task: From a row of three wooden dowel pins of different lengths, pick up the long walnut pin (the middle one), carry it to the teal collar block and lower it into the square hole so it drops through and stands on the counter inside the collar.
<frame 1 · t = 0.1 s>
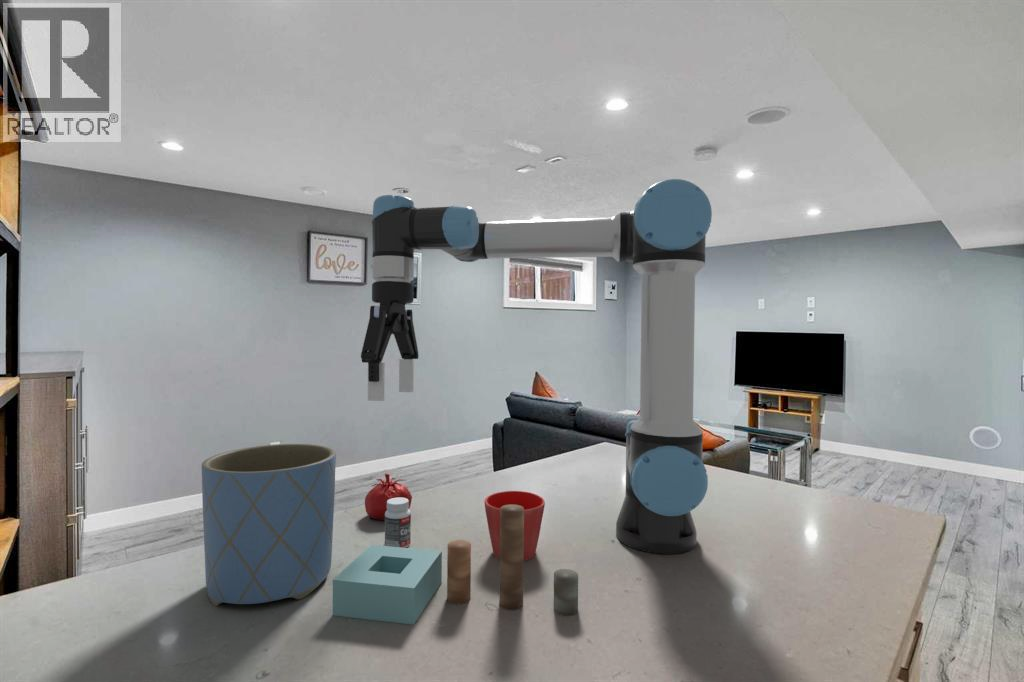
hand: (392, 396, 94), 28 cm above the worktop, fingers open, 13 cm apart
collar: (390, 597, 75), on the worktop
pill bottle: (397, 546, 94), on the worktop
pin short: (565, 609, 73), on the worktop
pomegranate: (388, 517, 109), on the worktop
pin medium: (458, 597, 75), on the worktop
pin long: (511, 603, 74), on the worktop
flower pot: (514, 554, 91), on the worktop
planter: (271, 583, 80), on the worktop
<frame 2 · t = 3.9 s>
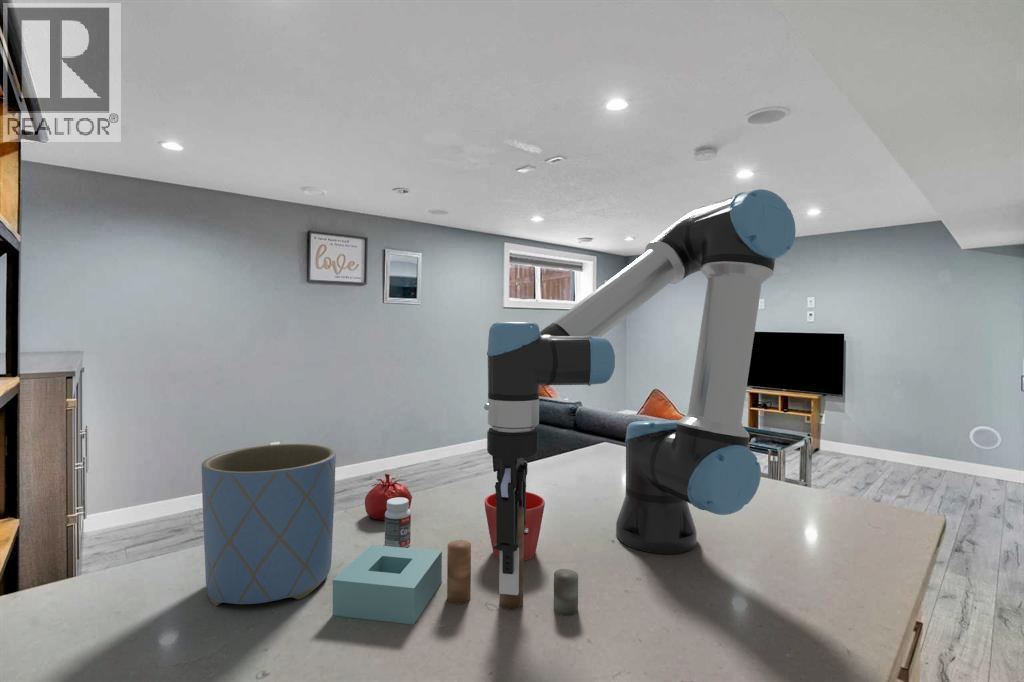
hand: (511, 585, 74), 3 cm above the worktop, fingers closed on pin long, 3 cm apart
pin long: (511, 603, 74), on the worktop, touching gripper
everything else where it was.
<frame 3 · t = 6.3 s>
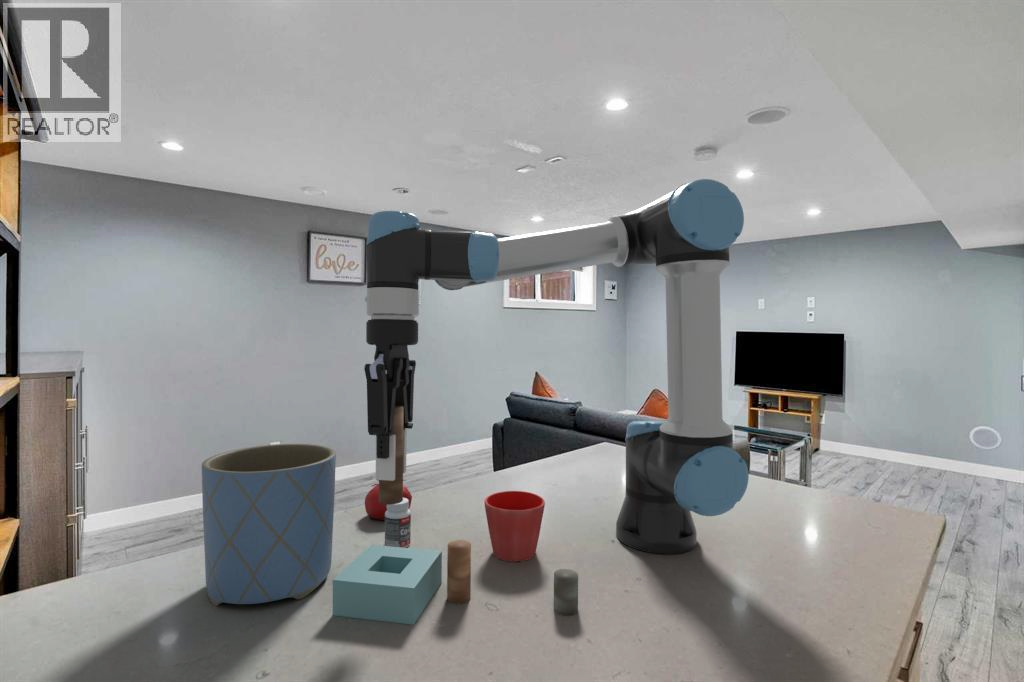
hand: (391, 475, 75), 18 cm above the worktop, fingers closed on pin long, 3 cm apart
pin long: (390, 500, 75), point 15 cm above the worktop, touching gripper
everything else where it was.
when the fingers open (6 cm above the worktop, at t = 8.7 s): pin long drops 2 cm, resting in collar.
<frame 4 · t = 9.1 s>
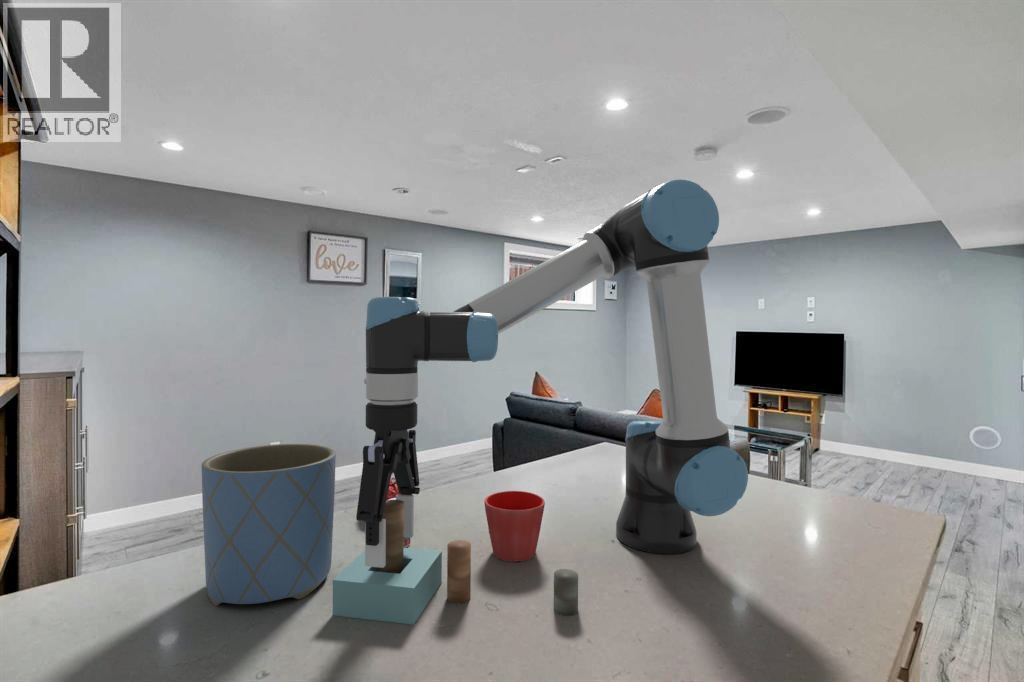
hand: (390, 549, 75), 7 cm above the worktop, fingers open, 10 cm apart
pin long: (390, 597, 75), resting in collar
everything else where it was.
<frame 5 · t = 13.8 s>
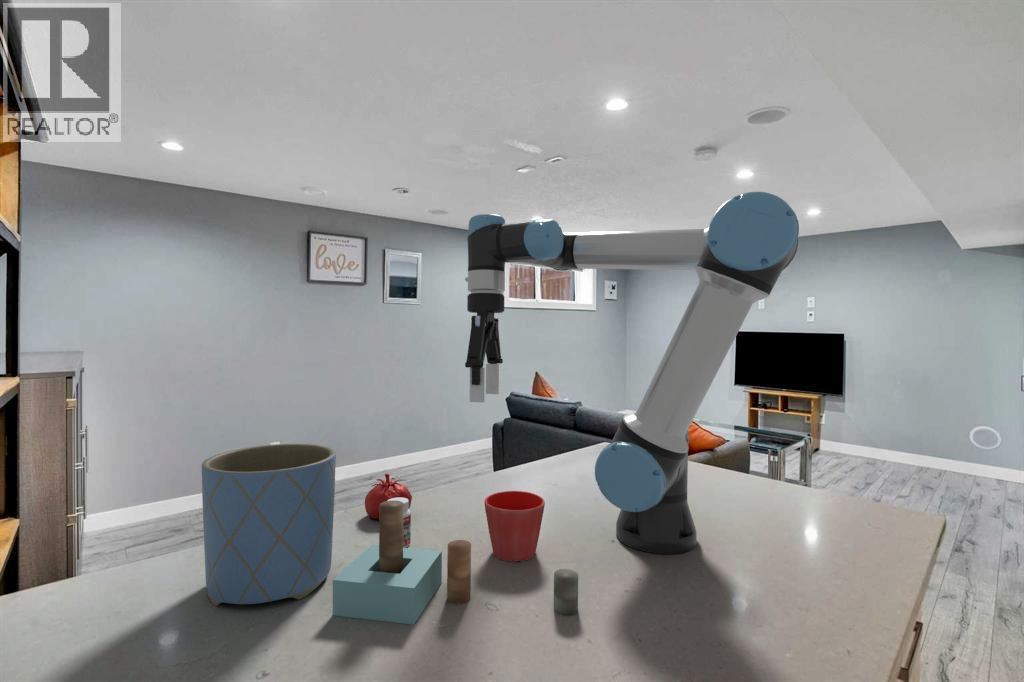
hand: (485, 397, 102), 27 cm above the worktop, fingers open, 13 cm apart
nothing on the worktop moved.
at the end: pin long 0.1 cm off-centre on the collar, point 0.0 cm above the collar's base; pin long tilted 0°; the gripper is holding nothing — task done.
